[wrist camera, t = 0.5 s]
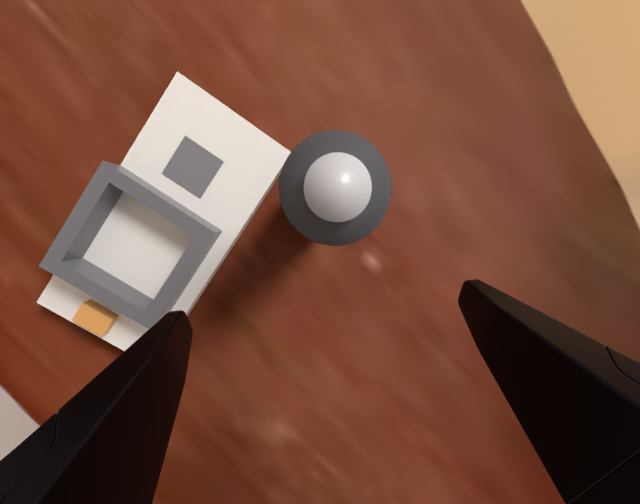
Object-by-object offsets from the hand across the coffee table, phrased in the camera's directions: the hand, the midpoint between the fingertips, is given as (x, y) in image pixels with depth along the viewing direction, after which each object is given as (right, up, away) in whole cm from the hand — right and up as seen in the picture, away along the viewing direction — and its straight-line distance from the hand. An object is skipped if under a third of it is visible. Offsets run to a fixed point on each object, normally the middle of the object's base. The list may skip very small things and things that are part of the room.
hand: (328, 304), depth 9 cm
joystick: (-1, +6, +14) cm, 15 cm away
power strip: (-12, +4, +14) cm, 19 cm away
